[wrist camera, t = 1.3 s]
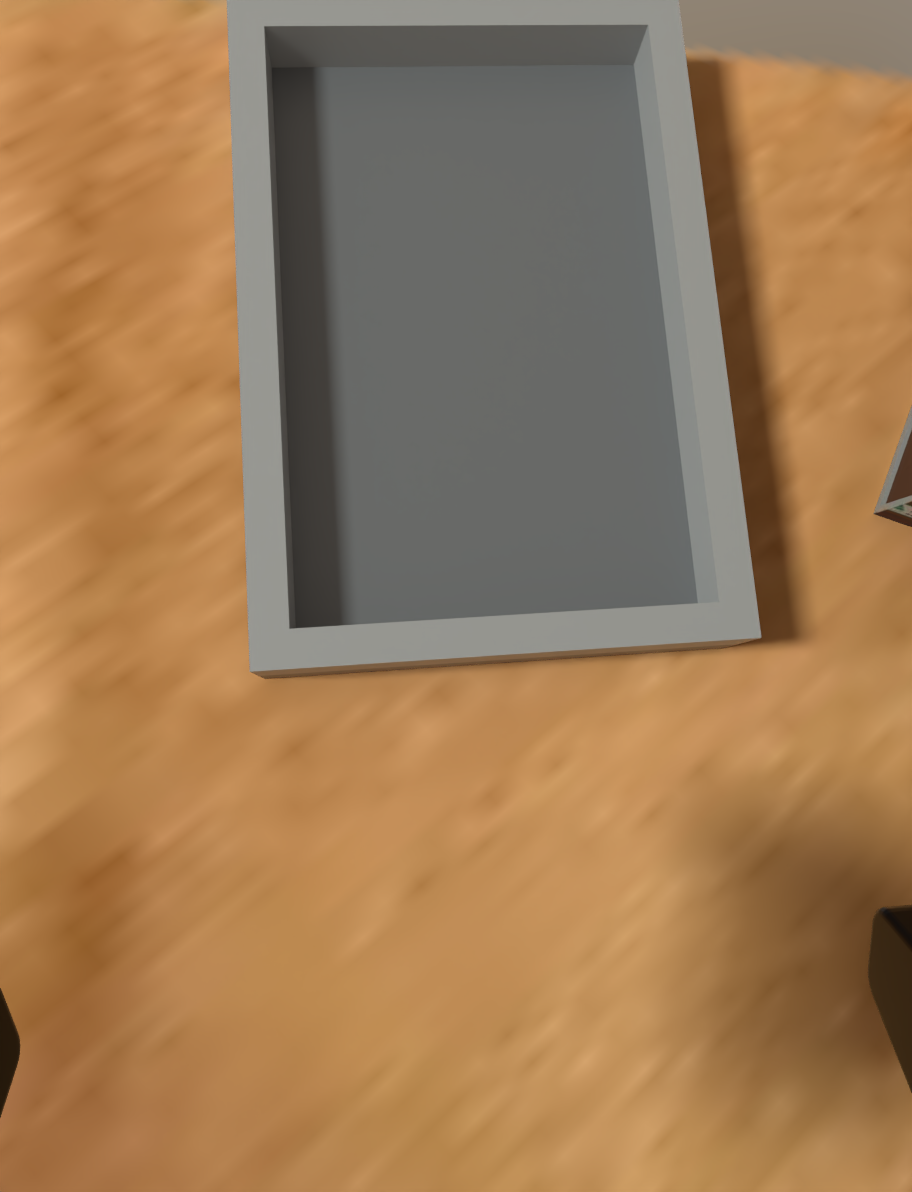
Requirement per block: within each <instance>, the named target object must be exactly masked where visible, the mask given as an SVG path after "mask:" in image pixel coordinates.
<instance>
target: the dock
mask: <svg viewBox="0 0 912 1192" xmlns="http://www.w3.org/2000/svg"><path fill="white" fill-rule="evenodd" d="M227 19H228V48H229V77H230V106H231V136H232V165H233V194H234V223H235V252H236V282H237V311H238V340H239V369H240V399H241V428H242V457H243V486H244V516H245V545H246V574H247V603H248V633H249V662H250V672H252V673H254V674H256V675H258V676H260V677H262V678H264V679H268V678H283V677H298V676H312V675H327V674H342V673H357V672H372V671H387V670H402V669H417V668H432V667H447V666H462V665H477V664H492V663H507V662H522V661H537V660H552V659H567V658H582V657H596V656H611V655H626V654H641V653H656V652H671V651H686V650H701V649H716V648H726V647H730V646H733V645H737V644H741V643H744V642H748V641H752V640H755V639H759V638H761V630H760V622H759V615H758V607H757V599H756V592H755V584H754V576H753V569H752V561H751V553H750V546H749V538H748V530H747V523H746V515H745V507H744V499H743V492H742V484H741V476H740V469H739V461H738V453H737V446H736V438H735V430H734V423H733V415H732V407H731V400H730V392H729V384H728V376H727V369H726V361H725V353H724V346H723V338H722V330H721V323H720V315H719V307H718V300H717V292H716V284H715V277H714V269H713V261H712V253H711V246H710V238H709V230H708V223H707V215H706V207H705V200H704V192H703V184H702V177H701V169H700V161H699V154H698V146H697V138H696V131H695V123H694V115H693V107H692V100H691V92H690V84H689V77H688V69H687V61H686V54H685V46H684V38H683V31H682V23H681V15H680V8H679V0H227Z"/></svg>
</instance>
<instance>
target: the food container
mask: <svg viewBox="0 0 912 1192" xmlns="http://www.w3.org/2000/svg"><path fill="white" fill-rule="evenodd" d="M874 514H876V515H878V516H881V517H884V518H887V519H890V520H893V521H896V522H898V523H901V524H904V525H907V526H911V527H912V407H911V409H910V412H909V415H908V418H907V421H906V424H905V426H904V429H903V432H902V435H901V438H900V440H899V443H898V446H897V449H896V452H895V455H894V457H893V460H892V463H891V466H890V469H889V472H888V474H887V477H886V480H885V483H884V486H883V489H882V491H881V494H880V497H879V500H878V503H877V505H876V508H875V511H874Z"/></svg>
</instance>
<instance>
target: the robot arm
mask: <svg viewBox="0 0 912 1192" xmlns="http://www.w3.org/2000/svg"><path fill="white" fill-rule="evenodd" d="M868 978H869V984H870V988H871V992H872V995H873V998H874V1000H875V1003H876V1005H877V1008H878V1010H879V1013H880V1015H881V1018H882V1020H883V1023H884V1025H885V1028H886V1030H887V1033H888V1035H889V1038H890V1040H891V1043H892V1045H893V1048H894V1050H895V1053H896V1055H897V1058H898V1060H899V1063H900V1065H901V1068H902V1070H903V1073H904V1075H905V1078H906V1080H907V1083H908V1085H909V1088H910V1090H911V1093H912V905H905V906H892V907H883V908H880V909H878V910H877V911H876V913H875V915H874V918H873V924H872V934H871V944H870V954H869V963H868ZM19 1055H20V1039H19V1034H18V1032H17V1029H16V1026H15V1024H14V1021H13V1019H12V1016H11V1013H10V1011H9V1008H8V1006H7V1003H6V1001H5V998H4V995H3V993H2V990H1V988H0V1117H1V1114H2V1111H3V1108H4V1105H5V1102H6V1099H7V1096H8V1092H9V1089H10V1086H11V1083H12V1080H13V1077H14V1074H15V1071H16V1068H17V1064H18V1061H19Z"/></svg>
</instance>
